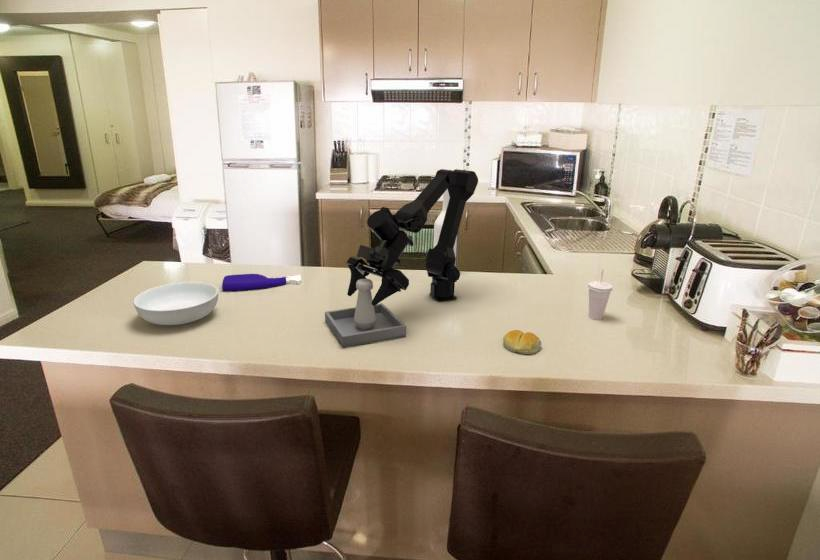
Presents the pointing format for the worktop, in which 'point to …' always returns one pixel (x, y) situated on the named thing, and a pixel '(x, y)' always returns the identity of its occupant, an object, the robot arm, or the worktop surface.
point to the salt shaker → (364, 305)
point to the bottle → (440, 220)
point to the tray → (353, 336)
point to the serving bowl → (176, 302)
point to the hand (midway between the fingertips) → (360, 300)
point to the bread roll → (521, 342)
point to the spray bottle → (255, 282)
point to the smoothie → (598, 298)
